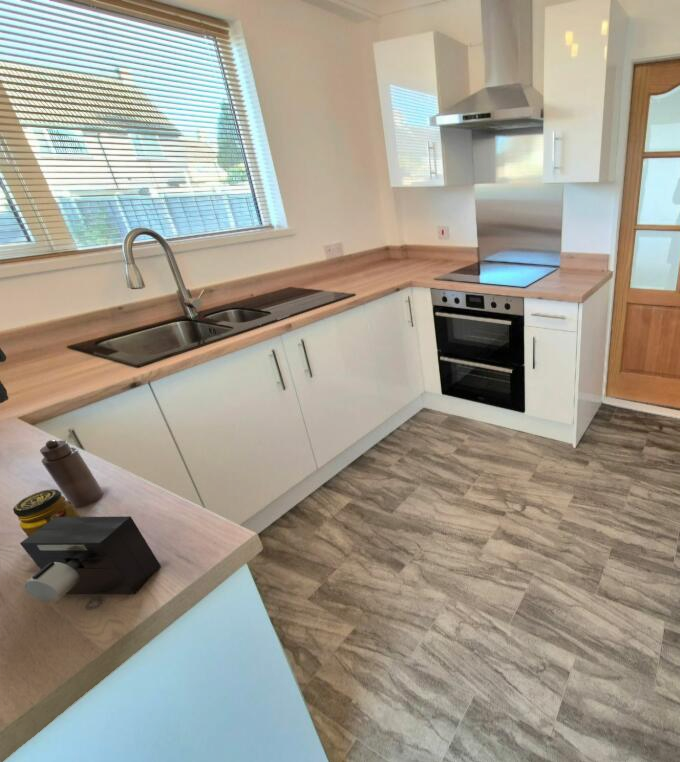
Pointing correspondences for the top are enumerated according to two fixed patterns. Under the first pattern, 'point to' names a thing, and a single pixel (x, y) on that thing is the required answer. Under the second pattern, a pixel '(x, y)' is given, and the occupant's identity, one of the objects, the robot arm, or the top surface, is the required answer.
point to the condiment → (42, 510)
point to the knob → (53, 581)
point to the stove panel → (96, 552)
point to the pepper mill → (70, 473)
